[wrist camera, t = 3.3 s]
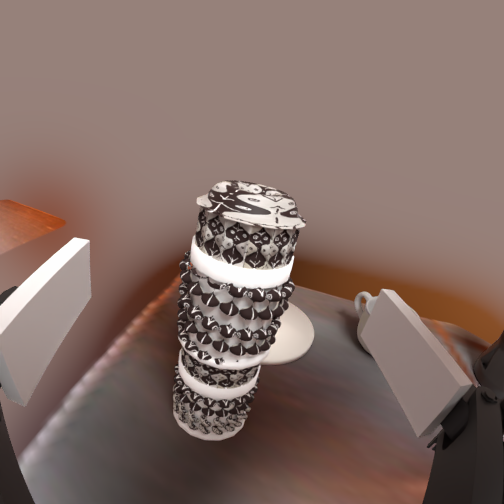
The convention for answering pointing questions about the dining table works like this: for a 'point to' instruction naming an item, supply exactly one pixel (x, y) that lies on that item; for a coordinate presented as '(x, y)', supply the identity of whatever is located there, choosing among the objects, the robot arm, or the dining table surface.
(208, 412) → the decorative candle
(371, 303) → the teacup
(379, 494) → the dining table surface
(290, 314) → the candle plate
